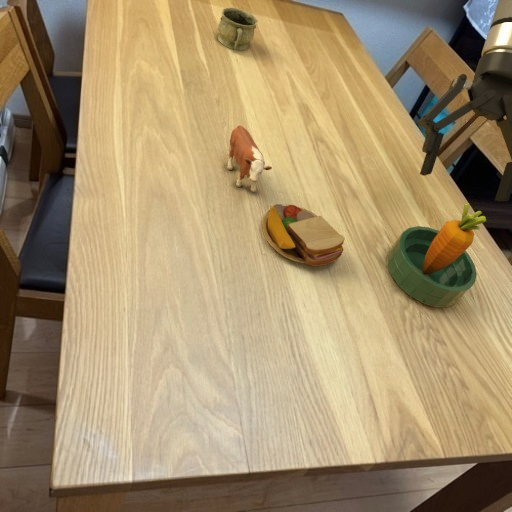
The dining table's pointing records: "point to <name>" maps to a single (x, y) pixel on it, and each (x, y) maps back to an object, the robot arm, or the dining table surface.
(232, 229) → the dining table surface
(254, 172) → the bull figurine
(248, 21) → the vessel
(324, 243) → the toy sandwich meal
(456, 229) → the carrot
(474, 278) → the bowl
